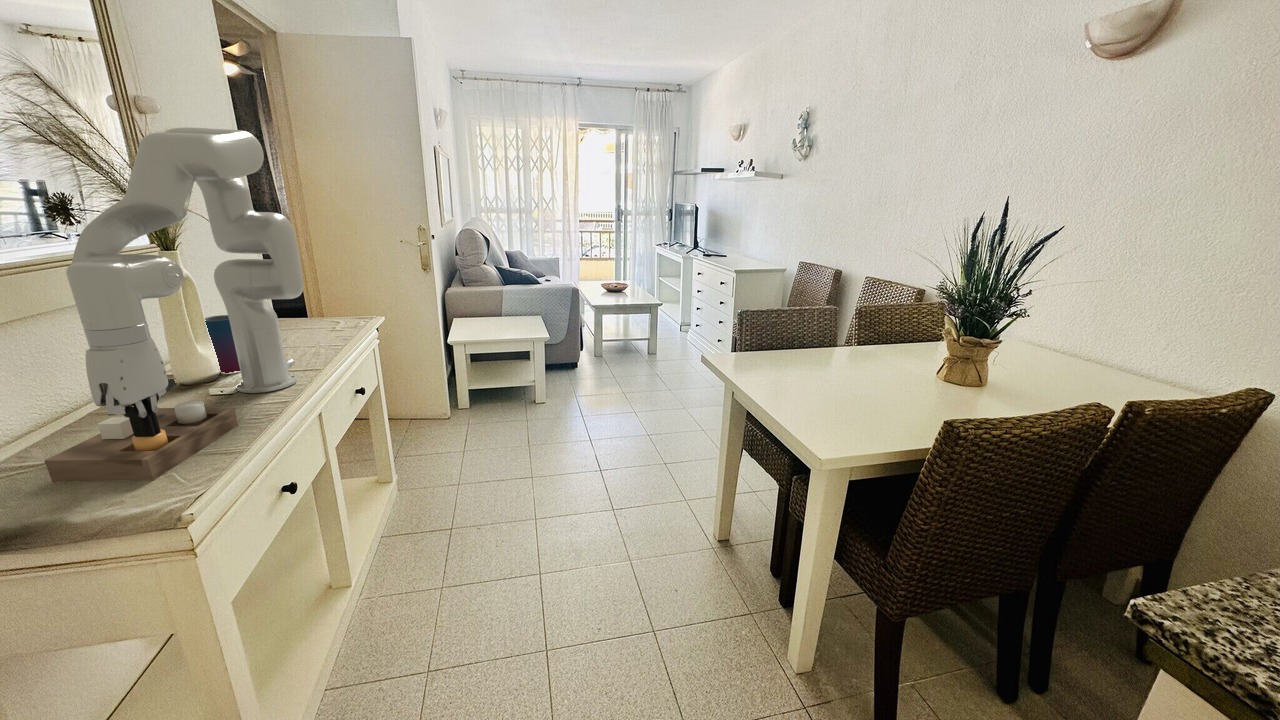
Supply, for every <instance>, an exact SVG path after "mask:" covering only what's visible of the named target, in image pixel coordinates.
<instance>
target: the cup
mask: <svg viewBox="0 0 1280 720" xmlns="http://www.w3.org/2000/svg"><path fill="white" fill-rule="evenodd" d="M204 318H205V320H206V321H205V322H206V325H207V328H208V332H209V335H210V337H211V340H212V343H213V346H214V349H215V352H216V355H217V358H218V362H219V366H220V370H221V372H225V373H229V372H234V371H241V370H240V366H239V362H238V357H237V353H236V348H235V344H234V340H233V335H232V331H231V326H230V321H229V317H228V314H222V315H221V314H220V315H213V316H208V317H204Z"/></svg>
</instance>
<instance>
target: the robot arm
mask: <svg viewBox="0 0 1280 720" xmlns="http://www.w3.org/2000/svg"><path fill="white" fill-rule="evenodd" d="M264 154H265V153H264V150H263V147H262V145H261V143H260V141H259V140H258V139H257V137H255V136H254V135H253V133H250V132H248V131H246V130H243V129H242V130H240V129H228V128H227V129H226V128H225V129H223V128H209V127H175V128H170V129H167V130H165V131H164V132H162V131H161V132H153V133H149V134H146V135H145V136H144V137H143V138H142V139H141V140H140V142H139V145H138V148H137V152H136V156H135V159H134V162H133V166H132V170H131V173H130V177H129V180H128V184H127V187H126V191H125V195H124V196H123V198H121V199H120V200H119V201H117V202H115V203H114V204H112V205H111V206H109V207H108V208H106V209H105V210H103V212H102V213H100V214H98V216H96V217H95V218H94V219H92V220H91V221H90V222H89V223H88V224H87V225H86V226H85V227H84V229H83V230H82V232H80V235H79V237H78V238H77V242H76V245H75V248H74V251H73V256H72V259H71V264H70V265H68V266H67V268H66V270H65V271H66V272H65V273H66V277H67V281H68V284H69V287H70V290H71V293H72V296H73V299H74V300H73V301H74V303H75V306H76V309H77V313H78V316H79V319H80V321H81V322H80V323H81V325H82V327H83V332H84V335H85V338H86V342H87V344H88V349H86V350H85V367H86V368H85V369H86V376H87V381H88V386H89V390H90V393H91V398H92V400H93V402H94V405H95V406H96V407H105V406H106V407H105V408H106V416H107V415H108V416H120V415H121V416H123V417H126V418H129V420H130V423H131V426H132V430H133V433H134V436H135V437H153V436H155V435H156V434H159V433H160V432H161V430H160V427H159V423H158V420H157V416H156V413H154V412H156V411H157V410H158V408H159V407H158V402H159V400H160V398H161V396H162V397H163V396H165V395H166V394H167V393H166V389H165V388H166V387H167V386H168V379H169V378H168V374H167V373H168V372H167V370H166V367H165V363H164V361H163V357H162V356H161V354H160V351H159V349H158V346H157V345H156V343H155V341H154V339H153V338H152V337H151V334H150V333H151V332H150V330H149V324H148V321H147V319H146V316H145V311H144V308H143V303H142V300H146V299H157V298H159V299H160V298H167V297H169V296H171V295H174V294H175V293H177V292H178V291H179V290H180V289H181V288H182V286H183V284H184V279H185V278H184V272H183V269H182V268H181V267H180V265H179V264H178V263H177V262H176V261H174V260H173V259H171V258H169V257H167V256H163V255H157V254H132V253H131V254H130V253H129V254H127V253H123V254H122V253H121V252H122V251H123V250H124V249H125V248H126V247H127V246H128V245H129V244H130V243H131V242H134V241H135V240H136V239H138V238H140V237H142V236H144V235H147V234H151V233H153V232H156V231H159V230H162V229H164V228H168V227H170V226H172V225H176V224H178V223H180V222H181V221H182V220H183V219H185V218H186V216H187V214H188V210H189V204H190V200H191V196H192V193H193V189H194V188H193V187H194V184H195V183H196V184H197V185H198V187H199V189H200V191H201V194H202V196H203V200H204V204H205V208H206V212H207V217H208V220H209V221H208V222H209V224H210V229H211V233H212V236H213V240H214V242H215V245H216V247H218V249H220V250H221V251H224V252H225V253H229V254H245V255H246V254H248V255H249V254H254V255H256V254H259V255H260V254H262V255H269V257H270V258H271V259H266V258H265V259H262V258H261V259H259V258H240V259H239V258H235V259H228V260H225V261H223V262H220V263H219V264H218V265H217V266H216V268H215V269H214V272H213V279H214V283H215V287H216V288H217V290H218V292H219V295H220V297H221V299H222V302H223V304H224V307H225V309H226V314H227V315H228V317H229V321H230V326H231V331H232V335H233V340H234V344H235V348H236V353H237V357H238V362H239V366H240V370H241V372H240V374H241V380H243V382H241V385H238V386H237V389H238V390H237V389H236V390H237V391H238V392H240V393H244V394H245V393H247V394H259V393H260V394H261V393H267V392H268V393H269V392H274V391H278V390H282V389H285V388H288V387H290V386H292V385H294V384H296V382H297V380H298V379H297V375H296V374H295V373H291V372H289V370H290V368H292V367H293V366H295V365H296V361H295V360H293V359H292V358H289V359H288V360H286V355H285V354H286V353H285V349H284V345H283V339H282V335H281V334H282V333H281V329H280V324H279V319H278V318H279V317H278V315H277V312H275V310H274V308H273V307H272V306H271V305H270V304H269V302H267V301H266V300H292V299H296V298H298V297H300V296H301V295H302V294H303V291H304V287H305V285H304V281H305V280H304V275H303V274H304V272H303V268H302V263H301V257H300V251H299V245H298V240H297V235H296V231H295V229H294V227H293V225H292V223H291V222H290V220H289V219H288V218H287V217H286V216H284V215H283V214H280V213H278V212H270V211H269V212H268V211H266V212H265V211H256V210H255V209H254V206H253V202H252V199H251V194H250V190H249V188H248V186H247V184H246V183H245V182H244V181H243V180H242V177H246V176H249V175H251V174H255V173H257V172H258V171H259V170H260V169H261V168H262V166H263V163H264V159H265V157H264ZM165 393H166V394H165ZM164 394H165V395H164Z"/></svg>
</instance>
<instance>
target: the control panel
mask: <svg viewBox="0 0 1280 720" xmlns="http://www.w3.org/2000/svg"><path fill="white" fill-rule="evenodd" d="M205 411H206V415H207V417H206V418H205V419H203V420H201V421H198V422H194V423H187V424H181V423H178V420H177V417H176V413H175V409H174V407H158V410H157V411H156V412H154V413H156V416H157V420H158V423H159V427H160V429H163V430H165V432H166V436H167V439H168V444H167V445H165V446H163V447H162V448H160V449H158V450H156V451H136V450H135V447H134V444H133V441H132V437H133V436H134V434H132V435H130V436H128V437H126V438H125V439H102V437H101V434H100V433H99V434H96V435H94V436H92V437H90V438H88V439H86V440H84V441H82V442H80V443H78V444H76V445H74V446H72V447H70V448H68V449H65V450H63V451H61V452H59V453H57V454H55V455H53V456H51V457H49V458H47V459H45V460H44V464H45V466H46V469H47V471H48V474H49V477H50V480H51V482H52V483H56V482H59V483H60V482H61V483H62V482H115V481H116V482H117V481H119V482H121V481H123V482H125V481H128V482H129V481H154V480H157V479H158V478H159V477H161V476H162V475H164V474H165V473H167V472H169V471H170V470H172V469H173V468H175V467H177V466H178V465H179V464H181V463H183V462H184V461H185V460H188V459H189V458H191V457H192V456H193V455H195V454H197V453H198V452H199V451H201V450H203V449H204V448H206V447H207V446H208V445H209V446H210V445H211V444H212V443H213V442H215V441H216V440H218V439H219V438H221V437H223V436H224V435H225V434H227V433H229V432H230V431H232V430H233V429H235V428H236V427H238V426H239V421H238V417H237V413H236V408H235V407H205Z"/></svg>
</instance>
